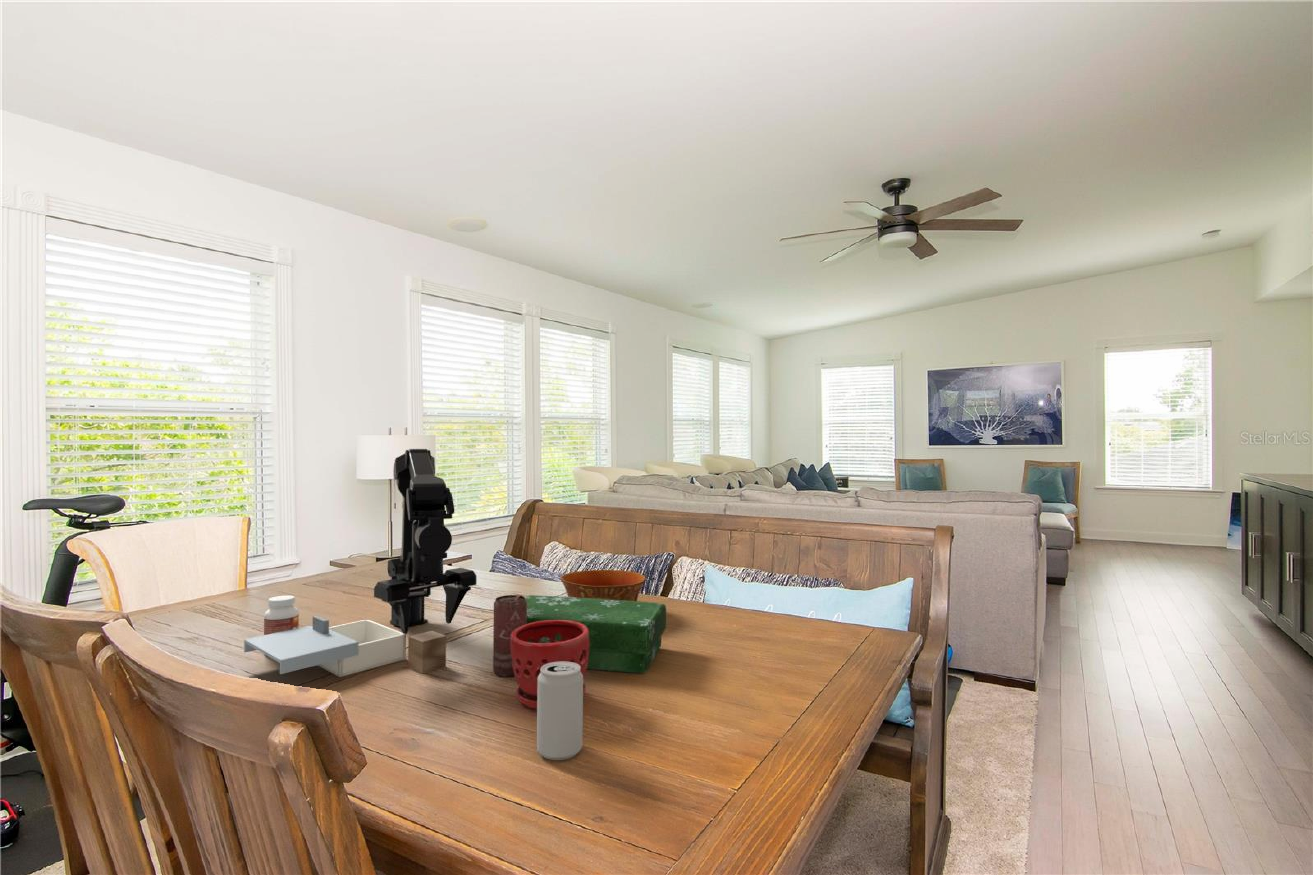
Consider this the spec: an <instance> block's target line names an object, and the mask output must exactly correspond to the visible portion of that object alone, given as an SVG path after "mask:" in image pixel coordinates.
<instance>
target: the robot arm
mask: <svg viewBox="0 0 1313 875" xmlns="http://www.w3.org/2000/svg"><path fill="white" fill-rule="evenodd" d="M431 454H432V453H431V450H430V449H427V448H409V449H406V450H405V452H404V454H402V455H399V456H397V457H395V459H394V462H393V470H392V472H393V475H392V476H393V480H394V481H395V480H396V486H397V490H398V491H399V493H400V494H401V496H402V524H401V527H402V528H401V552H400V553H401V554H400V555H399V557H398V558H391V559H389V560H387V574H388V577H390V578H389V579H386V580H381V581H377V583H376V584H375V586H374V588H373V598H376V599H379V600H381V601H382V602H385V603H387V604H389V605H390V607H391V610H390V611H391V613H390V614H391V615H390V616H391V619H390V620H389V623H390V624H392V625H394V626H397V627H400V630H401V632H402V633H403V634H406V635H407V634H408V631H409V627H412V626H417V625H420V624H425V623H428V622H429V619H426V618H425V598H429V597H430V596H431V594H432V593H431V592H432V591H431V589H432V588H437V587H443V590H444V594H445V612H444V613H445V616H444V617H445V623H446V624H451V623H452V621H453V620H454V617H455V616H456V613H457V611H458V608H459V606H460V605H461V602H462V601H463V599H464V598H465V596H466V594H467V592H469V591H471V590H472V586H476V585H477V583H478V582H477V575H476V573H475V571H474V570H472V569H468V568H464V567H458V568H451V569H446V570H445V571H444V559H447V558H448V552H447V551H448V550H449V549H450V547H451V545H452V541H453V536H452V533H451V532H450V530H449V529H448V528H447V526H445V520H450V519H453V514H455V504H454V498H453V493H452V492H451V489H450V488H449V487H447V485H446V482H445V480H444V479H443V478H441V477H439V476H436V461H435V460H436V459H435V457H434V456H432V455H431Z"/></svg>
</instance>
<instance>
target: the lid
mask: <svg viewBox="0 0 1313 875" xmlns="http://www.w3.org/2000/svg"><path fill="white" fill-rule="evenodd" d="M329 627H330V620H329V619H327V618H324V617H322V616H320V615H314V616H312V625H308V626H303V627H299V628H297V629H292V630H287V631H283V632H278V633H273V634H268V635H264V634H263V635H259V636H255V637H249V638H245V639H243V641H244V642H243V644H244V645H243V646H244V647H243V649H244V653H249V652H253V651H258V652H259V653H262V654H263V655H265V656H266V657H268V658H270V659H272V660H274V661H276V662H277V663H278V664H279V674H280V675H284V674H288V673H292V672H295V671H298V670H303V669H307V668H311V667H312V668H313V667H314V666H315V667H316V666H318V665H320V664H324V663H328V662H332V661H336V660H340V659H344V658H348V657H352V656H355V655H358V642H357V641H355V640H353V639H351V638H348V637H346V636H344V635H342V634H339V633H337V632H335V631H333V630H330V629H329Z"/></svg>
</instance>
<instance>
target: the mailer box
mask: <svg viewBox="0 0 1313 875" xmlns="http://www.w3.org/2000/svg"><path fill="white" fill-rule="evenodd" d="M329 629H330V630H333V631H335V632H337V633H339V634H342V635H344V636H346V637H348V638H351V639H353V640H355V641H357V642H358V655H355V656H352V657H348V658H344V659H340V660H336V661H332V662H328V663H324V664H320V665H317V667H320V668H322V669H323V670H325V671H327V672H329V673H331V674H333V675H335V676H336V677H338V678H341V677H346V676H349V675H352V674H353V675H354V674H356V673H361V672H363V671H367V670H371V669H374V668H379V667H382V666H386V665H390V664H394V663H397V662H401V661H406V660H407V651H406V650H407V640H406V639H407V634H403V633H402V631H399V630H396V629H393V628H392V627H388V626H386V625H383V624H381V623H378V622H376V621H373V620H371V619H369V618H368V619H363V620H358V621H353V622H348V623H343V624H338V625H334V626H329Z"/></svg>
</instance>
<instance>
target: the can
mask: <svg viewBox="0 0 1313 875" xmlns="http://www.w3.org/2000/svg"><path fill="white" fill-rule="evenodd" d="M525 598H526V597H525V596H523V595H522V594H509V595H507V594H506V595H501V596H497V597H496V598H495V601H494V602H493V634H492V635H493V642H492V643H493V644H492V646H493V647H492V648H493V652H492V654H493V655H492V657H493V658H492V669H493V670H492V671H493V672H494V674H495V675H496V676H498V677H501V678H511V677H512V678H513V677H515V675H514V671H513V665H512V657H511V650H510V635H511V633H512V632H513V631H514V630H515V629H517V628H519V627H521V626H523V625H526V624H527V602H526V600H525Z"/></svg>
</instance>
